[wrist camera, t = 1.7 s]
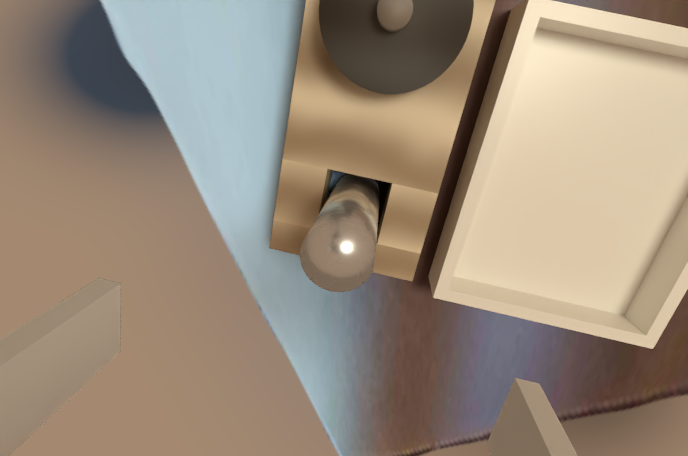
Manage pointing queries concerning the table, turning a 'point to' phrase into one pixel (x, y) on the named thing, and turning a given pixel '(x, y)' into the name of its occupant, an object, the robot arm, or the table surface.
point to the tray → (575, 177)
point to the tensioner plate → (377, 113)
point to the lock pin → (343, 236)
